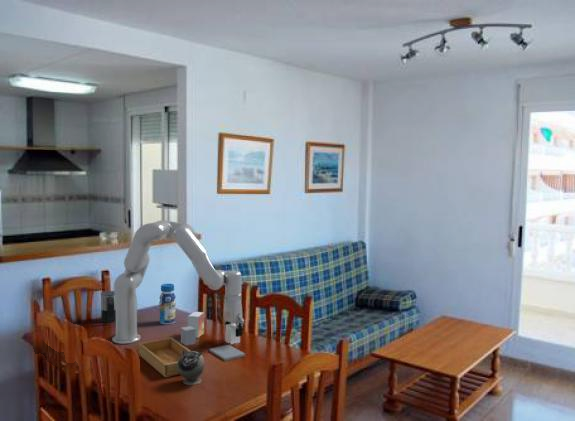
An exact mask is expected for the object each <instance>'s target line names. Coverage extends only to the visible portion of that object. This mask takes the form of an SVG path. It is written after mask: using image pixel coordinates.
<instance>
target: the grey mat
mask: <svg viewBox="0 0 575 421" xmlns="http://www.w3.org/2000/svg"><path fill="white" fill-rule="evenodd" d="M208 351H209V352H210V353H212V354H213V355H215V356H216V357H218V358H220V359H221V360H223V361H224V362H227V361H230V360H234V359H238V358H242V357H246V353H244V352H243V351H241V350H239V349H238V348H236V347H234V346H232V345H231V344H226V345H222V346H221V345H220V346H216V347H213V348H209V350H208Z"/></svg>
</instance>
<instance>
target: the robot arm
mask: <svg viewBox="0 0 575 421" xmlns="http://www.w3.org/2000/svg"><path fill="white" fill-rule="evenodd" d="M195 234H196V233H195V229H194V228H193V226H191V225H190V224H187V223H181V222H176V221H171V220H163V219H161V220H157V221H153V222H150V223H149V222H148V223H145V224H143V225H141V226H139V228H137V230H136V231H135V234H134V235H133V238H132V240H131V243H130V245H129V247H128V250H127V253H126V255H125V258H124V260H123V265H124V269H125V270H124V272H122V273H121V274H119V275H118V276H117V277H116V279H115V280H114V283H113V291H114V292H115V307H116V321H115V335H113V337H112V340H111V341H112V342H113V343H115V344H119V345H120V344H121V345H124V344H125V345H126V344H132V343H136V342H138V341H140V340H141V335H140V334H139V333H138V320H137V319H138V307H137V306H138V303H137V302H138V300H137V292H136V289H137V288H139V286H141V284H142V282H143V280H144V277H145V275H146V272H147V269H148V267H149V264H150V254H149V253H148V252H149V250H150V247H151V244H152V243H153V242H154V241H161V240H163V239H167V240H168V239H169V240H174V242H176V244H177V245H178V247H179V248H180V249H181V250H182V251H183V253H184V254H185V255H186V256H187V258H188V259H189V260H190V262H191V264H192V266H193V267H194V269H195V271H196V273H197V274H198V276H199V277H200V279H201V280H202V281H203V283H204V284H205V285H206V286H207V287H208V288H209V289H210V290H213V291H217V290H220V289H221V288H222V287H223V286H225V287H224V288H225V289H224V290H225V292H224V293H225V295H224V297H225V298H224V299H225V300H224V303H223V304H224V305H223V313H222V314H223V319H224V320H223V321H224V331H225V332H226V325H227V324H234V323H235V325H236V337H239V336H240V337H242V336H243V327H244V325H245V319H244V318H243V306H242V305H243V304H242V273H241V271H239V270H223V269H215V268H214V266H213V265H212V263H211V261H210V260H209V255H208V252H207V251H208V250H206V248H205V247H204V246H203V244H202V243H201V242H200V240H199V239H198V238H197V236H196V235H195Z"/></svg>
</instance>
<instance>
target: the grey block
mask: <svg viewBox="0 0 575 421" xmlns="http://www.w3.org/2000/svg"><path fill="white" fill-rule="evenodd" d="M196 339H197V338H196V329H195V328H193V327H192V326H188V325H187V326H182V327H180V344H182V345H183V346H189V345H195V344H196V343H197V342H196Z"/></svg>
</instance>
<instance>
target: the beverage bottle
mask: <svg viewBox="0 0 575 421" xmlns="http://www.w3.org/2000/svg"><path fill="white" fill-rule="evenodd" d="M160 291H161V293H160V295H159V323H160V324H161V325H171V324H174V323H176V303H177V302H176V294H175V293H174V291H175V284H173V283H162V284H161V285H160Z"/></svg>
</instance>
